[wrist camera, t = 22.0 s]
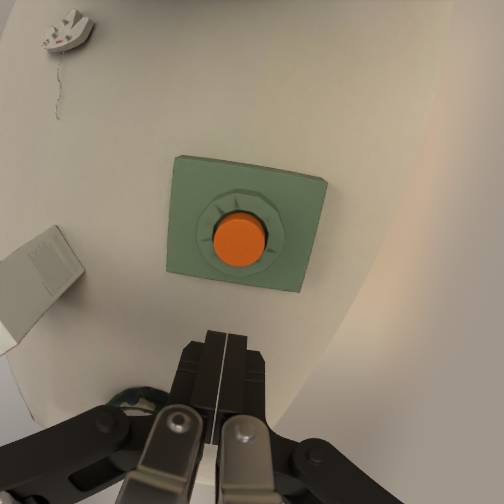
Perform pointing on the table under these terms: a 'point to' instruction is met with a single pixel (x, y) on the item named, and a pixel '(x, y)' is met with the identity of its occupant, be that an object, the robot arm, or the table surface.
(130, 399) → the headphones
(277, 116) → the table surface
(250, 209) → the control block
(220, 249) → the button
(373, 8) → the table surface
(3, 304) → the small box
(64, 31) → the game controller
